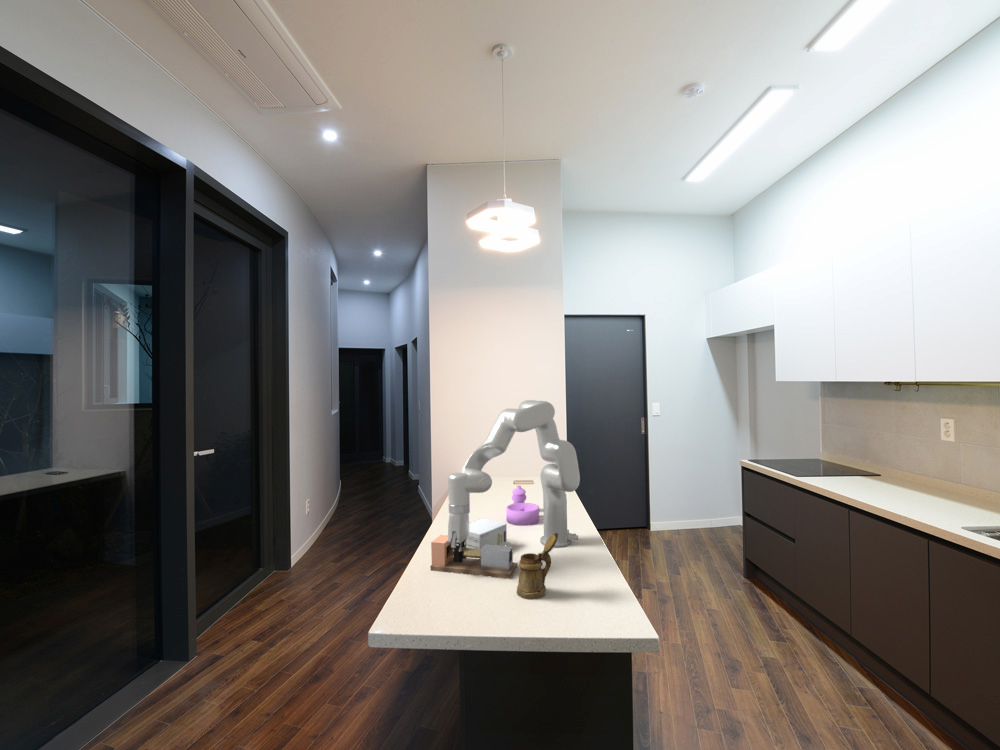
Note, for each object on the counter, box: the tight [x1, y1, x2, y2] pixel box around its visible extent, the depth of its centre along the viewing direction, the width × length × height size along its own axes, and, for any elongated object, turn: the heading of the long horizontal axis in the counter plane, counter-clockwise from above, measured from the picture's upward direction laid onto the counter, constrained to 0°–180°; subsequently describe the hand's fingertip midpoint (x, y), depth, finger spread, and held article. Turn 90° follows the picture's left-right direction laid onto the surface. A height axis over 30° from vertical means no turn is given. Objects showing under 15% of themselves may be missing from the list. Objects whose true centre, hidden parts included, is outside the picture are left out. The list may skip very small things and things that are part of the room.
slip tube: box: [447, 546, 481, 559], centre depth 165 cm, size 20×3×3 cm, turn 74°
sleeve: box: [481, 544, 514, 571], centre depth 162 cm, size 10×5×6 cm, turn 74°
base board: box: [430, 556, 518, 580], centre depth 164 cm, size 29×10×2 cm, turn 74°
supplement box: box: [456, 517, 508, 549], centre depth 184 cm, size 17×13×9 cm
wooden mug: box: [516, 533, 558, 600], centre depth 146 cm, size 9×14×18 cm, turn 98°
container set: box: [505, 485, 540, 527], centre depth 224 cm, size 25×15×13 cm, turn 5°
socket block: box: [430, 534, 454, 566], centre depth 168 cm, size 5×8×8 cm, turn 164°
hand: (460, 559), depth 166 cm, fingers closed on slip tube, 3 cm apart
